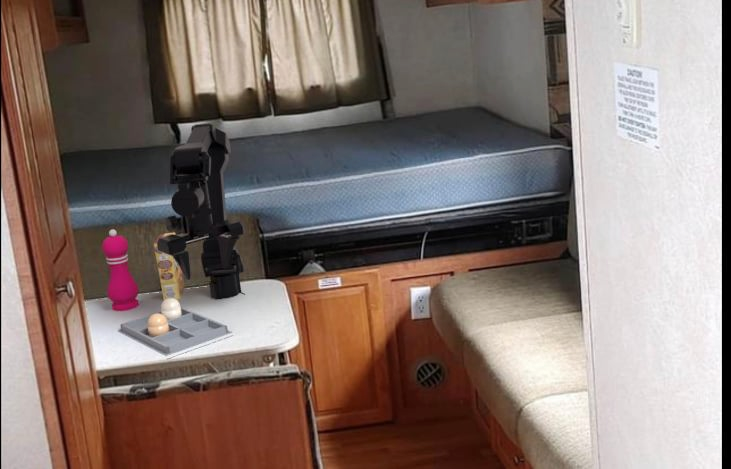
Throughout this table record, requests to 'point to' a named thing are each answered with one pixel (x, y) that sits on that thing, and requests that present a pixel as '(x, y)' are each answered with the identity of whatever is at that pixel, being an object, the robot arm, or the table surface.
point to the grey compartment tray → (176, 332)
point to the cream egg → (171, 308)
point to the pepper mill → (119, 273)
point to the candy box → (169, 273)
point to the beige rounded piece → (157, 325)
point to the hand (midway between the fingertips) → (206, 273)
